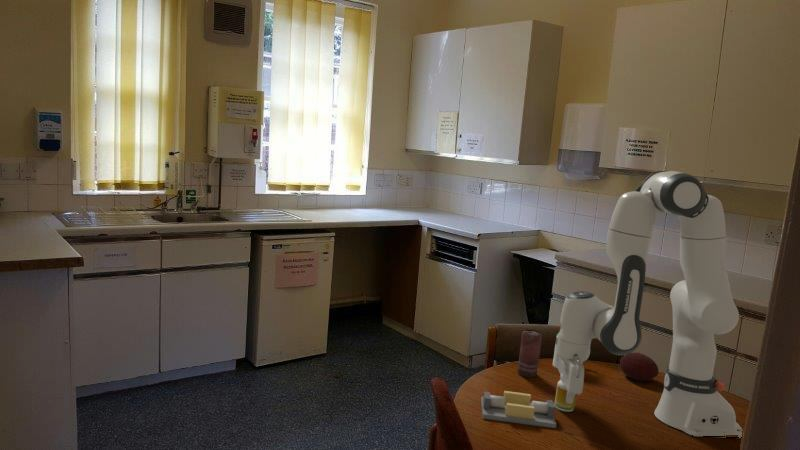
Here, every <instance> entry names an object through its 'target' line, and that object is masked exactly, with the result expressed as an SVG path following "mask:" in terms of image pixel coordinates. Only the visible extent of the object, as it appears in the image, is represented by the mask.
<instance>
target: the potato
mask: <svg viewBox="0 0 800 450" xmlns="http://www.w3.org/2000/svg"><path fill="white" fill-rule="evenodd" d="M619 366H620V369H621V371H622V373H623V374H624V375H626V376H627V377H628V378H630V379H631V380H635V381H649V380H652V379H655V377H657V376H658V375H659V367H658V364H657V363H656V362H655V360H653V359H652V358H651V357H650V356H648V355H646V354H644V353H640V352H631V353H629V354H626V355H622V357H621V358H620V360H619Z"/></svg>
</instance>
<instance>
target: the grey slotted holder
mask: <svg viewBox="0 0 800 450" xmlns="http://www.w3.org/2000/svg"><path fill="white" fill-rule="evenodd" d="M480 399H481V400H480V403H481V404H480V406H481V414H482V419H485V420H492V421H498V422H507V423H514V424H521V425H530V426H535V427H544V428H552V429H556V428H557V422H556V419H555V411H556V407H555V402H554V401H553V400H551V399H546V401H540V400H539V401H538V400H532V401H531V399H532V394H530V393H524V392H517V391H515V392H514V391H507V390H504V391H503V396H501V395H494V394H493V395H492V394H491V393H490V391H483V395H482V396H481V398H480Z"/></svg>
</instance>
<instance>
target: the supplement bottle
mask: <svg viewBox="0 0 800 450" xmlns="http://www.w3.org/2000/svg"><path fill="white" fill-rule="evenodd" d="M556 384H557V385H556V392H555V399H554V406H555V409H556V410H559V411H561V412H567V413H570V412H573V411H574V410H575V405H576V397H577V394H575V396H574V398H573V403H572V404H570V403H566V400H565V398H566V395H567V388H566V386H565V384H564V382H563V375H562V374H561V380H560V379H559V380H558V381H557V383H556Z"/></svg>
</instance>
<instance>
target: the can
mask: <svg viewBox="0 0 800 450" xmlns="http://www.w3.org/2000/svg"><path fill="white" fill-rule="evenodd" d="M542 339H543V335H542V332H540V331H538V330H536V329H524V330H523V331H522V334H521V342H520V349H519V358H518V365H517V373H518V375H520V376H522V377H525V378H535V377H536V376H537V375H538V367H539V360H540V354H541V348H542V341H543V340H542Z"/></svg>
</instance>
